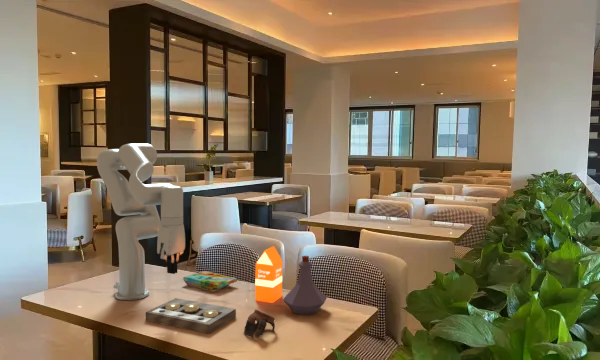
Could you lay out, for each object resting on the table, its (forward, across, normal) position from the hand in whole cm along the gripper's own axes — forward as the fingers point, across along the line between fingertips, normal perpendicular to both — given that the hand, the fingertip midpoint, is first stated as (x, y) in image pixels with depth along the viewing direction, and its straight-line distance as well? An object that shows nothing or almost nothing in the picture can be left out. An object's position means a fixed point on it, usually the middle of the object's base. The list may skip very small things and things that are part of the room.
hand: (172, 272), depth 165 cm
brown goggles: (+15, +1, +36) cm, 39 cm away
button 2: (+14, 0, +16) cm, 21 cm away
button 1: (+14, 0, 0) cm, 14 cm away
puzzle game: (+16, -33, -7) cm, 38 cm away
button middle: (+13, 0, +8) cm, 15 cm away
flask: (+15, -25, +40) cm, 50 cm away
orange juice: (+15, -31, +22) cm, 41 cm away
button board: (+15, 0, +8) cm, 17 cm away
